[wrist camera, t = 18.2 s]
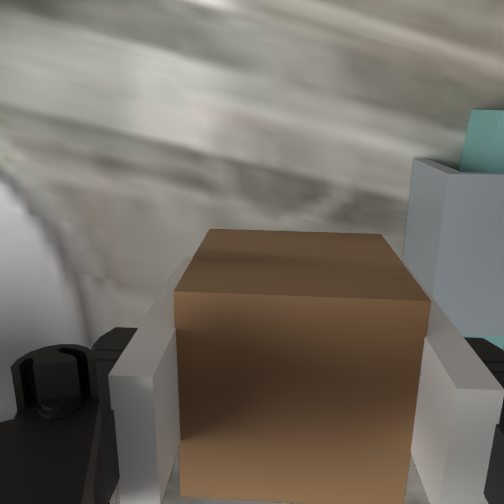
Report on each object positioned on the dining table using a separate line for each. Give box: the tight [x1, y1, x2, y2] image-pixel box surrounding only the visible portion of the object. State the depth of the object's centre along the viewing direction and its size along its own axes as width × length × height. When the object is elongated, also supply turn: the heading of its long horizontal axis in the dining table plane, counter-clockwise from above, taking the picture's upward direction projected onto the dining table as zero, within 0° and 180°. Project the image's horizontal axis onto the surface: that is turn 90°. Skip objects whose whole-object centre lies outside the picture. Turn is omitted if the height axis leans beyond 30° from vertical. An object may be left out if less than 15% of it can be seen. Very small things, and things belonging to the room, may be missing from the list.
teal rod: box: [458, 109, 504, 350], centre depth 34 cm, size 18×4×5 cm, turn 175°
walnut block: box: [173, 229, 431, 504], centre depth 13 cm, size 5×5×5 cm
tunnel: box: [402, 159, 504, 336], centre depth 32 cm, size 10×10×8 cm
